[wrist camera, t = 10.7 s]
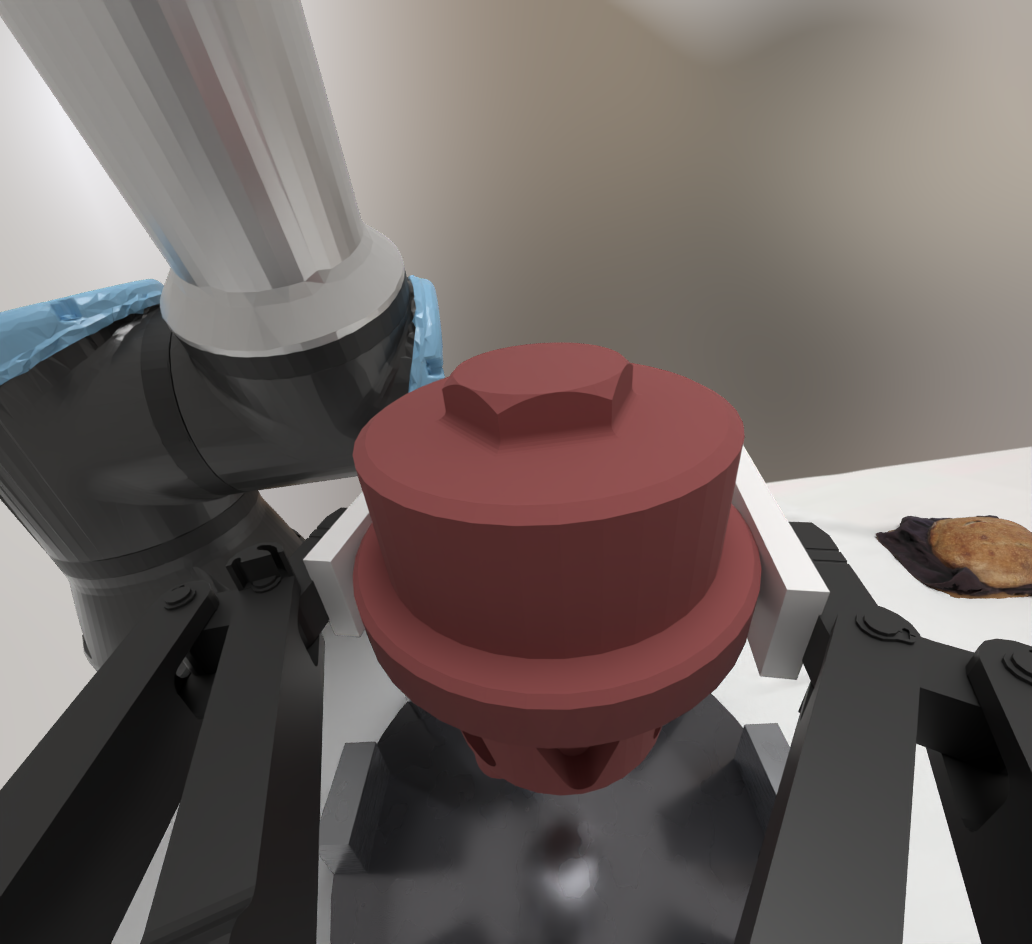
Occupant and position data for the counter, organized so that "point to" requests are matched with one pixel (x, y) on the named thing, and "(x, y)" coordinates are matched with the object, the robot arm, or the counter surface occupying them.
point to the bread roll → (965, 555)
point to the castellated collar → (548, 840)
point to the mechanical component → (555, 557)
